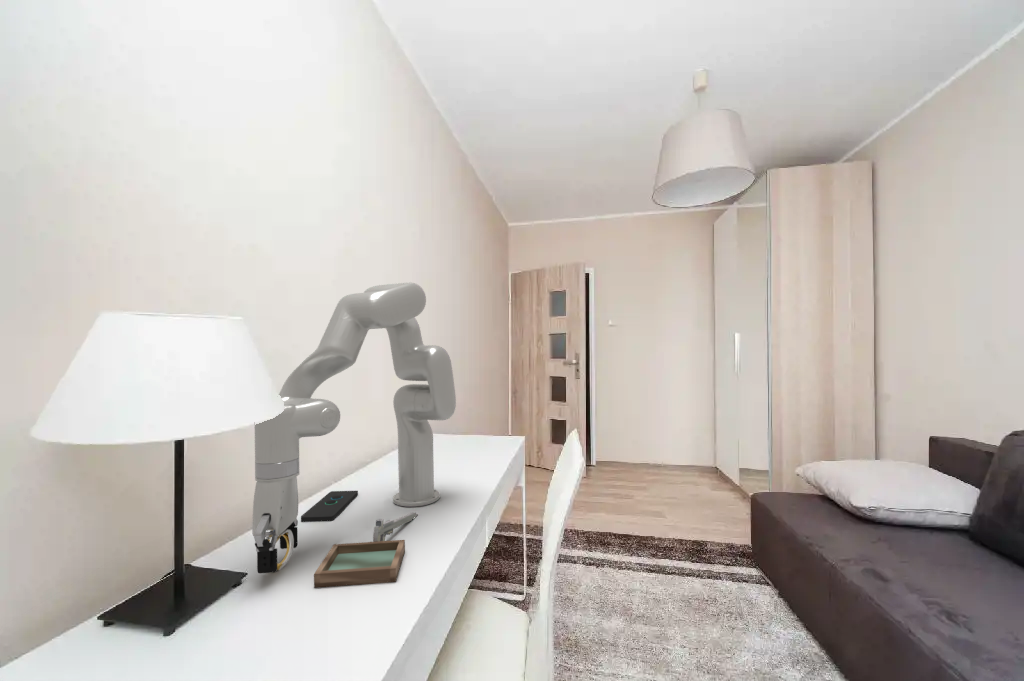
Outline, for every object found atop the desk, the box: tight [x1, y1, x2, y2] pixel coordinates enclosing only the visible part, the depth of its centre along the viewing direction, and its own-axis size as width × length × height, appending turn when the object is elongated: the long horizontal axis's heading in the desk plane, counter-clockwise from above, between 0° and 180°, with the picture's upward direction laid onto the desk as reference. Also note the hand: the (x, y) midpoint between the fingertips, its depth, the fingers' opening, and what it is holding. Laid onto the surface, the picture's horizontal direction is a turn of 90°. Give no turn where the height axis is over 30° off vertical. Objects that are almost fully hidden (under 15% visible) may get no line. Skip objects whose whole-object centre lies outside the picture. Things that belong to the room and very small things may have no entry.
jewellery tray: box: [313, 539, 406, 589], centre depth 85 cm, size 12×14×2 cm
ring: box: [265, 529, 294, 571], centre depth 85 cm, size 7×3×8 cm, turn 163°
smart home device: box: [300, 490, 359, 523], centre depth 118 cm, size 8×2×20 cm
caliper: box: [372, 512, 419, 542], centre depth 101 cm, size 21×1×6 cm, turn 169°
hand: (278, 559), depth 85 cm, fingers open, 9 cm apart
